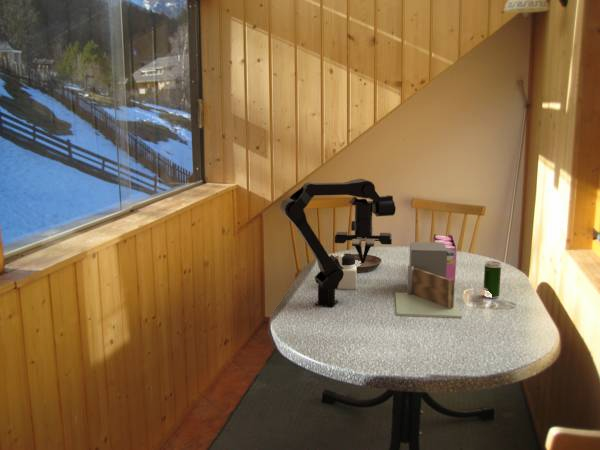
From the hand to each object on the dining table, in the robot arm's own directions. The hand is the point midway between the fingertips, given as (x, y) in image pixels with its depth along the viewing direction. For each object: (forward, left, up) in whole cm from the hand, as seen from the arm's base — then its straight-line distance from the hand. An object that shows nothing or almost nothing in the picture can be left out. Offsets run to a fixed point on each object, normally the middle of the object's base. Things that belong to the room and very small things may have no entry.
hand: (362, 263), depth 213 cm
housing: (+8, -20, -13) cm, 25 cm away
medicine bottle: (+13, +10, -13) cm, 21 cm away
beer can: (+20, -40, -13) cm, 47 cm away
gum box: (+41, -20, -13) cm, 48 cm away
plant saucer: (+40, +15, -14) cm, 45 cm away
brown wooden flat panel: (+5, -23, -12) cm, 26 cm away
